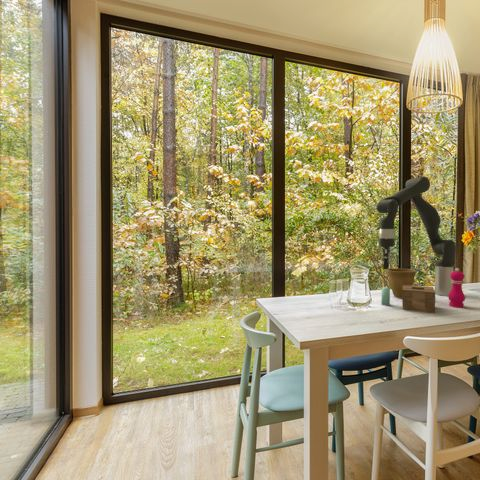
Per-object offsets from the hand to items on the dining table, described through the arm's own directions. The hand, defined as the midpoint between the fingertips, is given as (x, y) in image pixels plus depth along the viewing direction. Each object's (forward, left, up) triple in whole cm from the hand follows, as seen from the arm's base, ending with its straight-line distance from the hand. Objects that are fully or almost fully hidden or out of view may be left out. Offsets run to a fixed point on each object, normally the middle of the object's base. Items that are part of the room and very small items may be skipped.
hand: (386, 267), depth 166 cm
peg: (0, 0, -20) cm, 20 cm away
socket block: (0, +15, -20) cm, 25 cm away
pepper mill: (-12, +33, -20) cm, 40 cm away
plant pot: (-23, +7, -20) cm, 31 cm away
